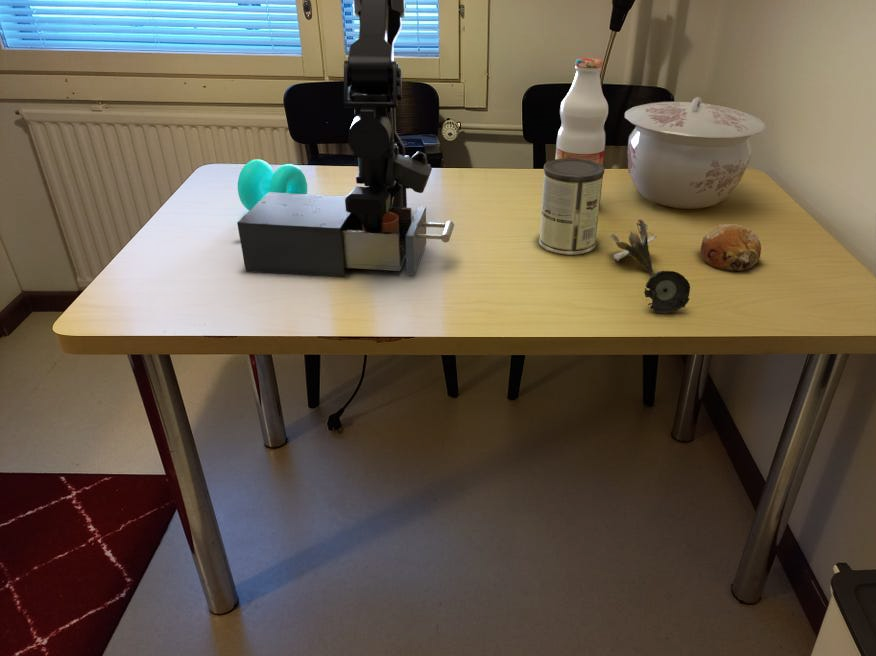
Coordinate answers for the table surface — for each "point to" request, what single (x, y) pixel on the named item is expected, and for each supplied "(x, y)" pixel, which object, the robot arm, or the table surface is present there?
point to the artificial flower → (664, 285)
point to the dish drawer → (390, 242)
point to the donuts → (268, 181)
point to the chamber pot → (688, 151)
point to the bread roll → (731, 248)
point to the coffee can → (570, 205)
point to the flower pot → (389, 223)
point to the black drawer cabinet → (295, 235)
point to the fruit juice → (583, 115)
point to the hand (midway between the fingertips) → (380, 235)
